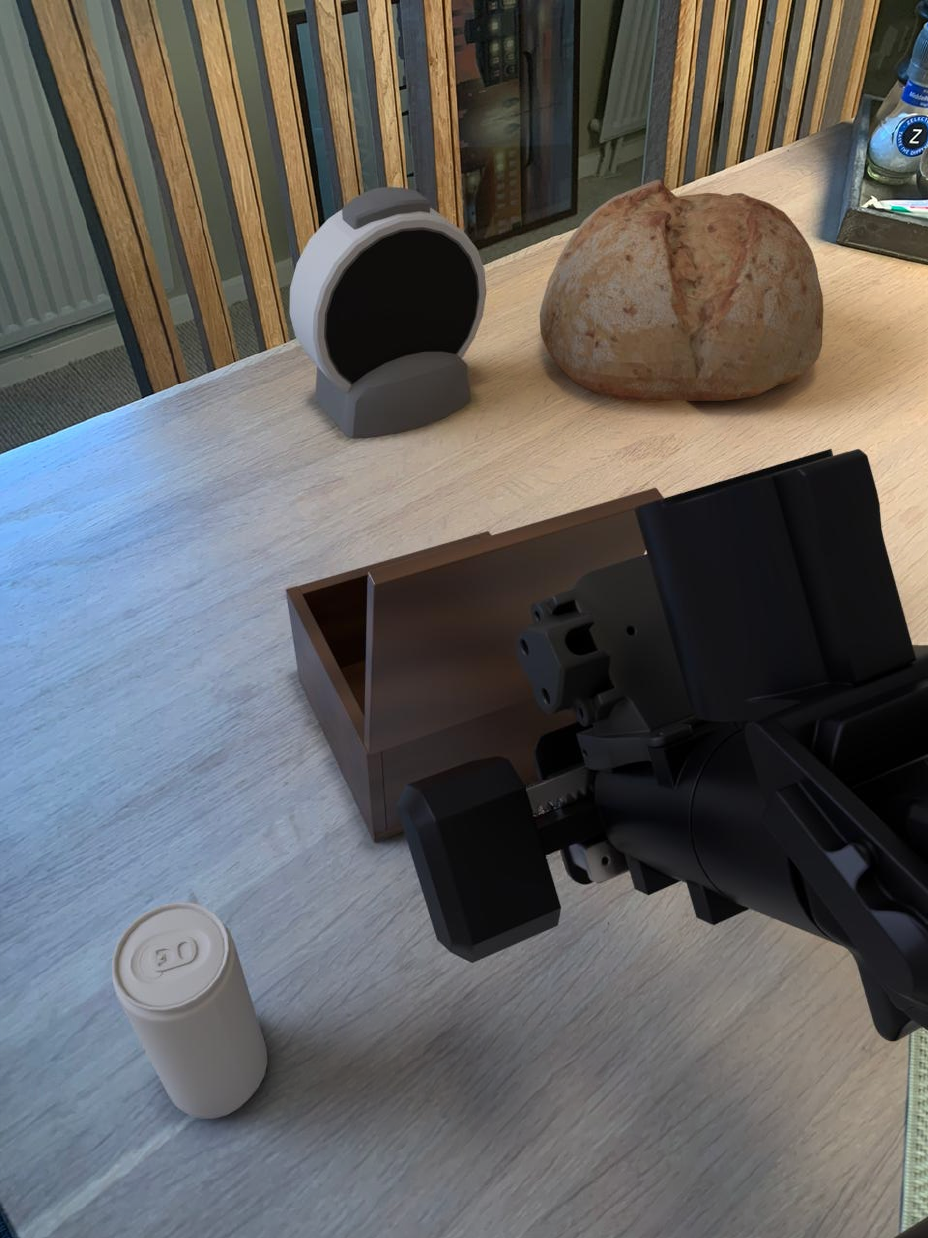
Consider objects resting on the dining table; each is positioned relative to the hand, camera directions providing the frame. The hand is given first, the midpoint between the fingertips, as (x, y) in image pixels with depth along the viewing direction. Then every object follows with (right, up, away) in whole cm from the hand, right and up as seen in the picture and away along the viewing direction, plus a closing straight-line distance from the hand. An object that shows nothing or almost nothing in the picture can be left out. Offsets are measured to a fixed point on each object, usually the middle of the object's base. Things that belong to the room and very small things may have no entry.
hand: (562, 764), depth 45 cm
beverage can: (-16, -15, +3) cm, 23 cm away
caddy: (-6, 0, +18) cm, 19 cm away
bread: (+16, +32, +51) cm, 62 cm away
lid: (-3, +6, +2) cm, 7 cm away
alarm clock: (-11, +26, +45) cm, 53 cm away
